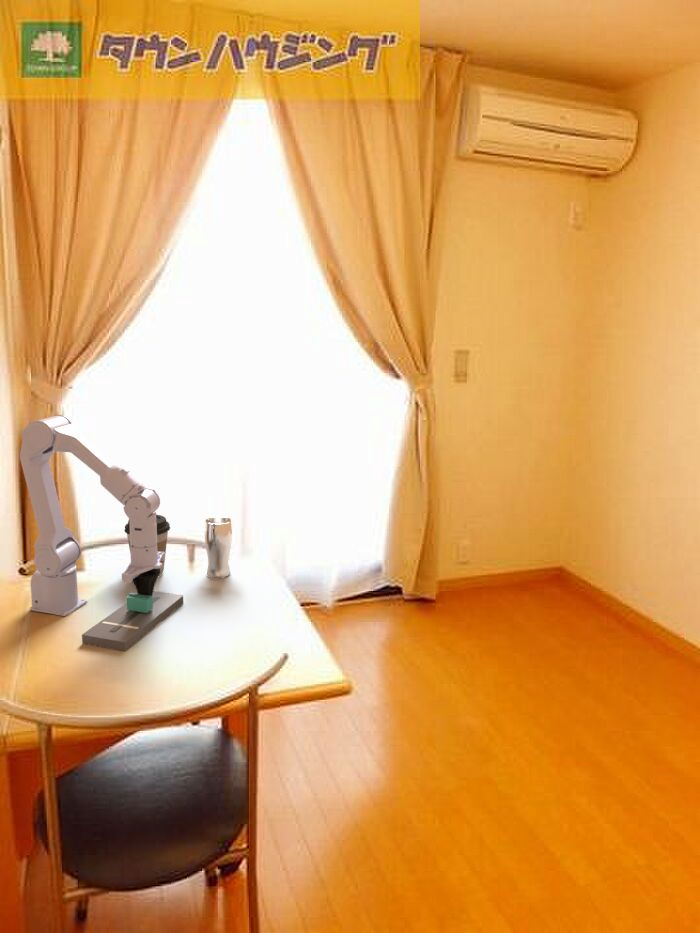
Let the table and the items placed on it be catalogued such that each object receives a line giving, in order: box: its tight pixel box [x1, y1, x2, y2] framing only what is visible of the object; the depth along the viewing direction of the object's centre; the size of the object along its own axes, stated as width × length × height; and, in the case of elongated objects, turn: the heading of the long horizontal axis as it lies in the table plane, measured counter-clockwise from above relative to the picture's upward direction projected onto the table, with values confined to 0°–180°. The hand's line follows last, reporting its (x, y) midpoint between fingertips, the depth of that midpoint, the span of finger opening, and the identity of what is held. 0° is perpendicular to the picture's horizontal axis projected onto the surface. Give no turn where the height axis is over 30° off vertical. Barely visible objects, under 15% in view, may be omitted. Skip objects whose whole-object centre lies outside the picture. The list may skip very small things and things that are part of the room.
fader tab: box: [125, 592, 153, 613], centre depth 146 cm, size 5×2×3 cm, turn 76°
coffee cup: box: [123, 514, 171, 577], centre depth 170 cm, size 11×11×15 cm
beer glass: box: [204, 515, 233, 579], centre depth 172 cm, size 7×7×15 cm
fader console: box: [81, 590, 184, 652], centre depth 145 cm, size 10×24×2 cm, turn 166°
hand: (145, 600), depth 148 cm, fingers closed
